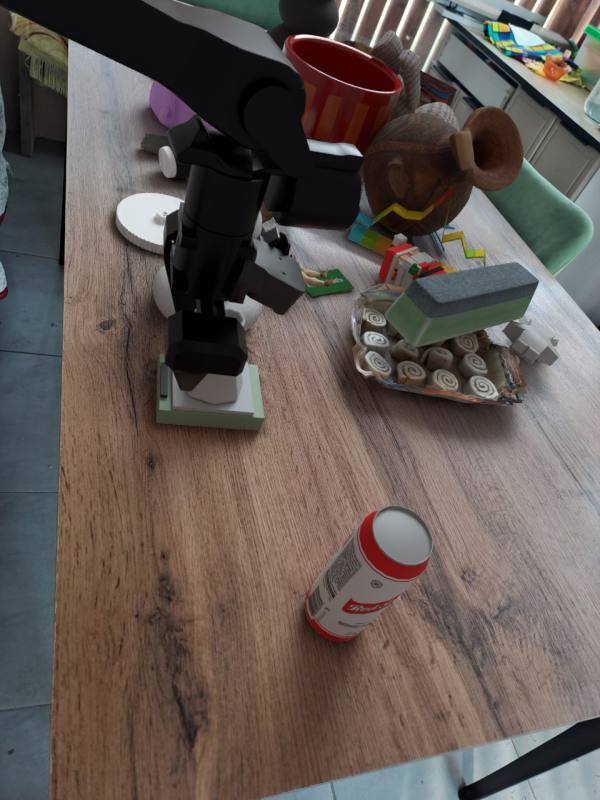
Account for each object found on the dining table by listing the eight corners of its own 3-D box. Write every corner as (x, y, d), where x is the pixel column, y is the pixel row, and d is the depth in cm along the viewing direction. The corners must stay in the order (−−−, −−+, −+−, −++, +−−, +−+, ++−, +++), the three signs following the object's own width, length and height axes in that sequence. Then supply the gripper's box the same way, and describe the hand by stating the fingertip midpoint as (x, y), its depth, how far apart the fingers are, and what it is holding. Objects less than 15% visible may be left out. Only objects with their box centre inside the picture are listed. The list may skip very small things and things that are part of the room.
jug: (375, 99, 107) (501, 32, 82) (448, 167, 118) (580, 127, 92) (329, 200, 106) (443, 165, 80) (408, 260, 116) (530, 246, 90)
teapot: (199, 157, 106) (214, 81, 96) (120, 114, 108) (127, 35, 98) (261, 126, 124) (278, 58, 114) (192, 88, 125) (204, 19, 116)
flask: (181, 403, 63) (197, 337, 56) (179, 356, 67) (194, 290, 60) (245, 408, 65) (268, 346, 58) (239, 362, 70) (260, 299, 62)
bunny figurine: (509, 320, 88) (527, 301, 100) (489, 345, 91) (508, 324, 103) (561, 357, 86) (573, 334, 98) (539, 382, 89) (552, 356, 101)
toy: (381, 47, 103) (466, 177, 117) (411, 7, 108) (489, 136, 122) (319, 93, 118) (401, 204, 132) (348, 55, 123) (424, 166, 137)
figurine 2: (410, 320, 93) (360, 279, 98) (437, 307, 96) (388, 269, 102) (427, 277, 86) (373, 236, 92) (456, 265, 90) (403, 227, 95)
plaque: (452, 98, 121) (436, 146, 151) (457, 89, 121) (440, 139, 151) (372, 56, 122) (371, 112, 152) (377, 46, 122) (375, 104, 152)
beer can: (294, 585, 56) (354, 501, 45) (350, 577, 58) (421, 495, 47) (311, 651, 52) (382, 577, 41) (370, 639, 55) (453, 566, 43)
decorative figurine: (199, 360, 72) (234, 224, 57) (128, 291, 76) (144, 148, 62) (278, 323, 81) (325, 198, 67) (211, 264, 85) (242, 134, 71)
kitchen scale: (156, 423, 63) (159, 406, 61) (157, 367, 69) (160, 350, 67) (259, 431, 67) (266, 415, 65) (252, 377, 73) (258, 361, 71)
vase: (241, 64, 143) (279, -113, 119) (302, 74, 153) (350, -88, 128) (271, 100, 134) (319, -84, 110) (334, 108, 144) (392, -60, 119)
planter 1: (342, 147, 129) (378, 51, 115) (377, 204, 116) (422, 104, 101) (245, 128, 120) (271, 22, 106) (271, 188, 106) (304, 75, 92)
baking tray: (489, 330, 97) (507, 306, 93) (535, 431, 83) (558, 407, 79) (325, 299, 89) (337, 271, 85) (345, 405, 74) (361, 377, 71)
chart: (500, 299, 105) (549, 231, 95) (499, 309, 103) (550, 239, 93) (351, 231, 105) (384, 154, 95) (347, 238, 103) (380, 161, 92)
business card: (354, 289, 93) (337, 269, 95) (354, 288, 93) (338, 268, 95) (311, 298, 88) (294, 277, 90) (311, 296, 88) (295, 276, 90)
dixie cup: (151, 152, 99) (209, 144, 104) (167, 195, 100) (224, 185, 104) (160, 127, 92) (221, 119, 97) (178, 173, 92) (238, 163, 97)
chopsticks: (434, 187, 126) (413, 182, 125) (468, 253, 110) (444, 249, 109) (431, 193, 127) (410, 188, 126) (464, 259, 111) (441, 255, 110)
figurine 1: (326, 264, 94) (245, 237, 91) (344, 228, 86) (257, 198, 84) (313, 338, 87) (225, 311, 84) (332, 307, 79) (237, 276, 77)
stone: (204, 151, 107) (213, 144, 103) (202, 170, 108) (211, 164, 103) (139, 132, 102) (146, 124, 97) (137, 152, 102) (144, 145, 97)
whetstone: (550, 283, 88) (523, 318, 93) (517, 255, 92) (493, 291, 96) (439, 308, 72) (413, 349, 77) (403, 274, 75) (381, 315, 80)
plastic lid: (209, 197, 93) (206, 211, 95) (119, 179, 88) (118, 193, 90) (212, 248, 84) (209, 262, 86) (113, 230, 80) (112, 245, 81)
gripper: (337, 308, 41) (275, 437, 52) (298, 177, 53) (253, 304, 64) (183, 283, 37) (150, 427, 48) (177, 147, 49) (152, 288, 60)
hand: (184, 354), depth 55 cm, fingers open, 9 cm apart
